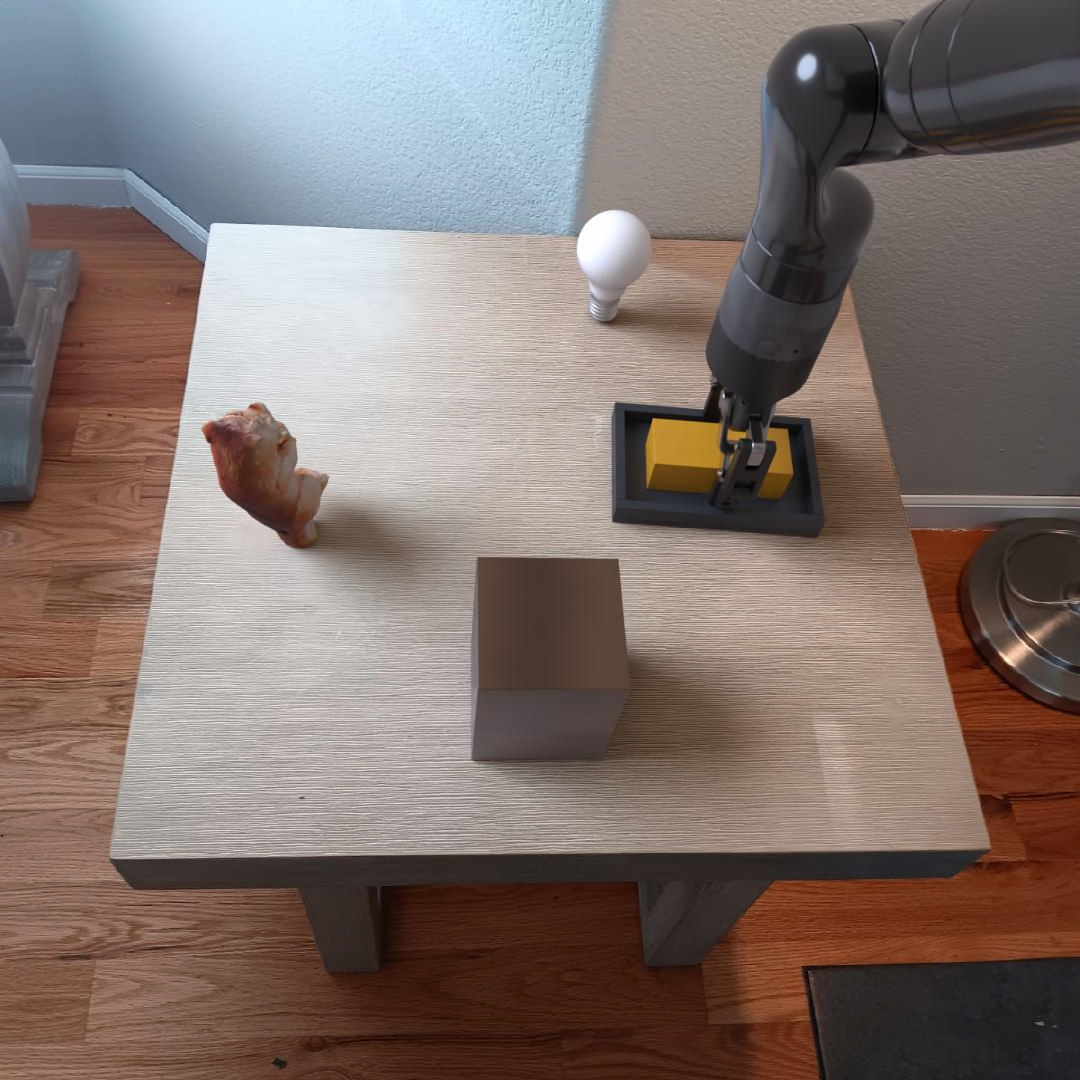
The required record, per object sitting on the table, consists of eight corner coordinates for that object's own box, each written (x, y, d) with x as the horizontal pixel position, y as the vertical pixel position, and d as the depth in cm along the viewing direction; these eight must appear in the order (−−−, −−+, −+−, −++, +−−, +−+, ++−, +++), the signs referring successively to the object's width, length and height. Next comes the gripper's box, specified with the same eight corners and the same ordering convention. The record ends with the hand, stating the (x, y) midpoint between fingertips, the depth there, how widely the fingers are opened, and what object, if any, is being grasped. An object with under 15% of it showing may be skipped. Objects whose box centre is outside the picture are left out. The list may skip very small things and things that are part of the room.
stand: (593, 642, 74) (618, 558, 64) (602, 759, 69) (630, 689, 59) (471, 641, 73) (476, 556, 63) (471, 760, 69) (477, 689, 58)
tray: (817, 537, 81) (825, 523, 79) (611, 522, 80) (615, 507, 78) (802, 433, 86) (810, 418, 85) (611, 417, 86) (615, 401, 84)
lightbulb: (592, 351, 89) (611, 256, 80) (553, 305, 92) (566, 208, 83) (649, 326, 92) (673, 230, 82) (609, 281, 94) (628, 184, 85)
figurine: (339, 499, 79) (321, 371, 66) (309, 582, 75) (283, 461, 62) (263, 483, 79) (230, 352, 66) (229, 565, 75) (186, 441, 62)
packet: (775, 455, 84) (787, 429, 81) (780, 499, 82) (793, 474, 79) (645, 444, 84) (652, 418, 81) (646, 489, 81) (654, 463, 78)
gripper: (843, 402, 64) (771, 538, 78) (817, 247, 72) (756, 396, 85) (726, 392, 64) (675, 531, 77) (713, 238, 71) (668, 388, 85)
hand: (717, 460), depth 81 cm, fingers open, 8 cm apart
